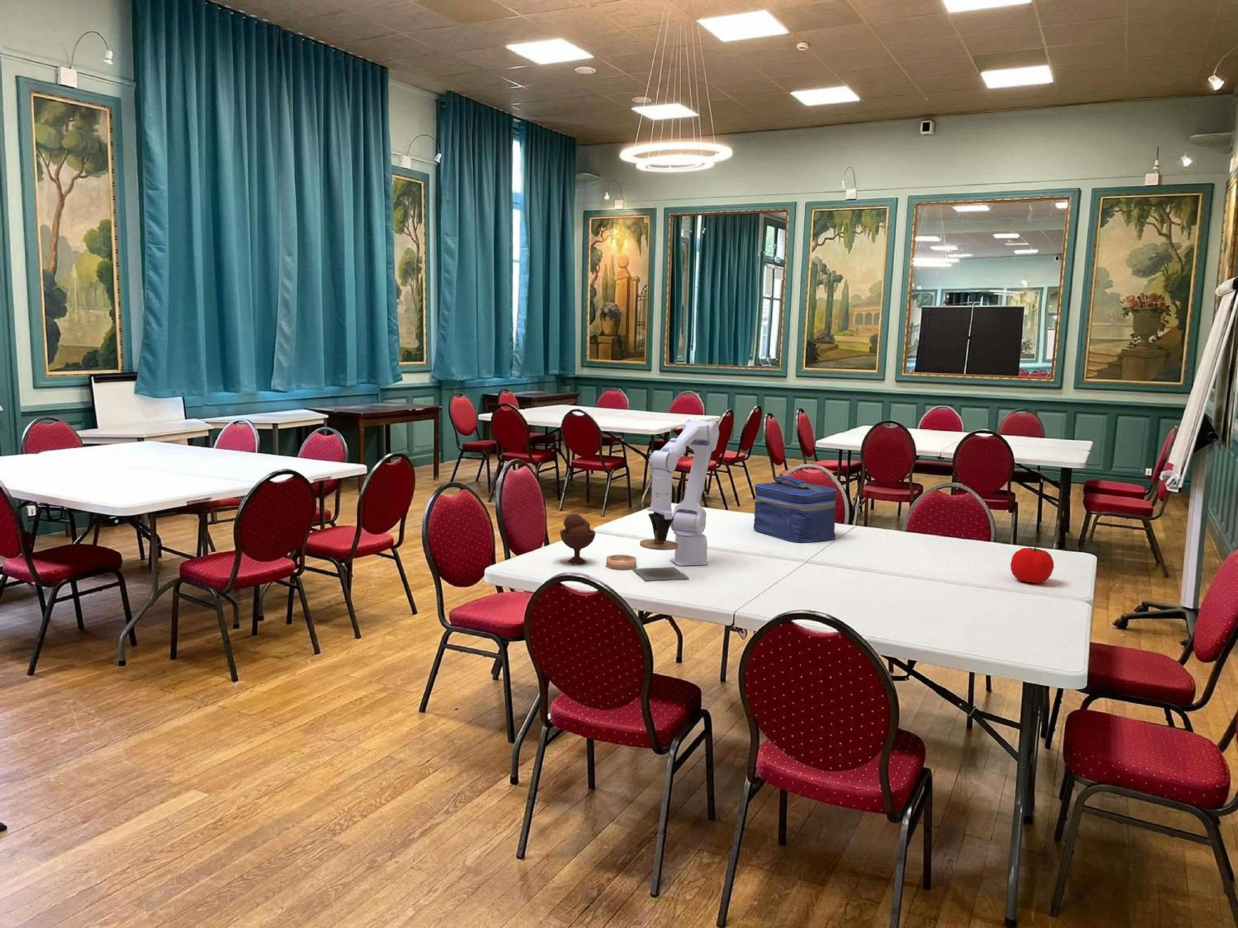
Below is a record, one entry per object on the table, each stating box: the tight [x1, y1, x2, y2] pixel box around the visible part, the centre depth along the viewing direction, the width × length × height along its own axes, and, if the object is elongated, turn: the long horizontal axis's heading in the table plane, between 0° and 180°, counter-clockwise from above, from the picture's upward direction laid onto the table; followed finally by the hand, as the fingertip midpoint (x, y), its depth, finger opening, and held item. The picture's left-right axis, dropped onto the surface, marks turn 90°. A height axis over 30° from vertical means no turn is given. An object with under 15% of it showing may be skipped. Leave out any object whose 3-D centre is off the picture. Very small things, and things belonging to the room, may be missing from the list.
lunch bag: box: [753, 475, 837, 543], centre depth 327 cm, size 31×21×20 cm
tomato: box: [1010, 545, 1055, 584], centre depth 268 cm, size 12×12×10 cm
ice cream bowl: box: [559, 513, 596, 565], centre depth 275 cm, size 11×11×15 cm
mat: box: [631, 566, 690, 582], centre depth 264 cm, size 13×13×1 cm
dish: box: [605, 554, 637, 571], centre depth 273 cm, size 9×9×2 cm
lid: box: [639, 530, 678, 551], centre depth 263 cm, size 11×11×4 cm
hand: (660, 539), depth 263 cm, fingers closed on lid, 3 cm apart
